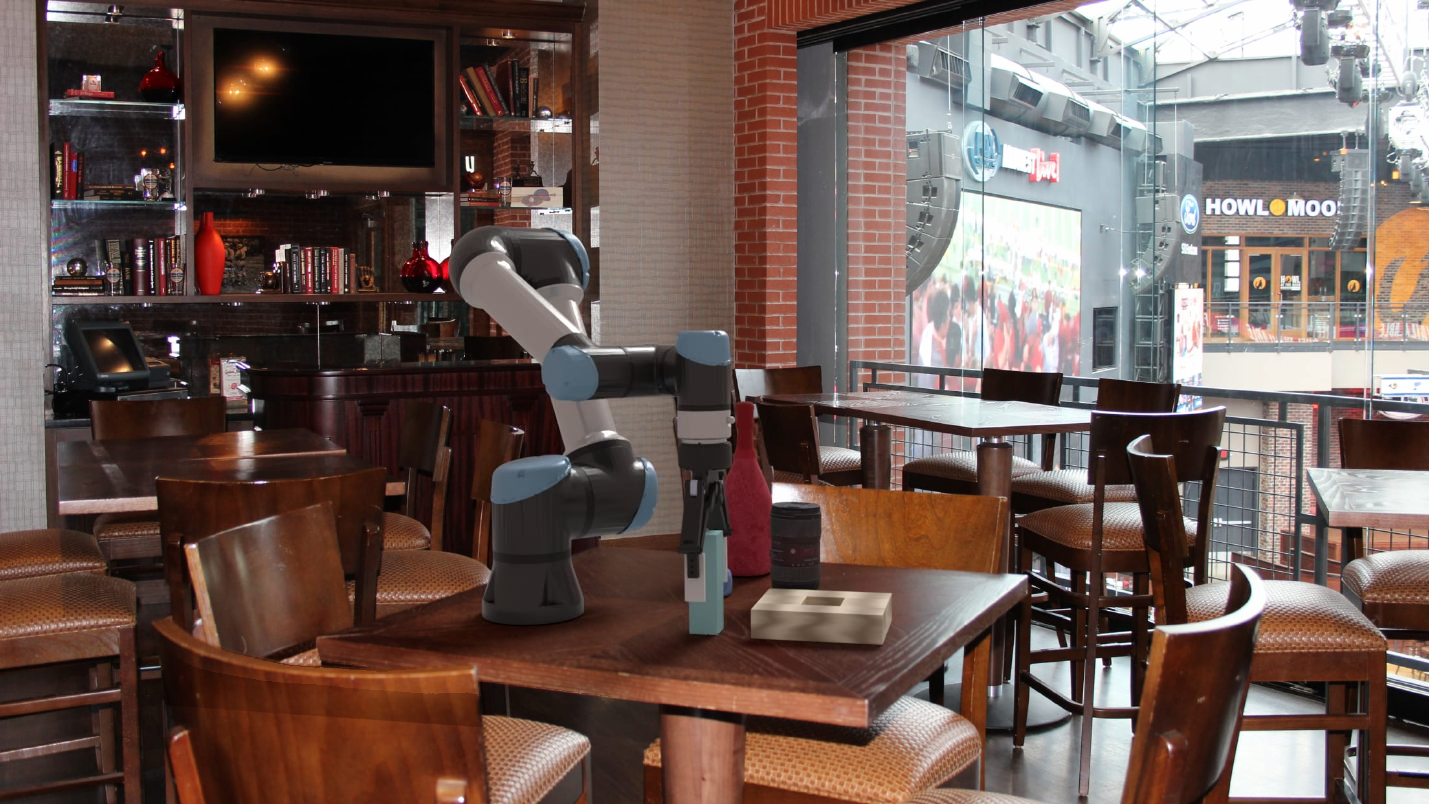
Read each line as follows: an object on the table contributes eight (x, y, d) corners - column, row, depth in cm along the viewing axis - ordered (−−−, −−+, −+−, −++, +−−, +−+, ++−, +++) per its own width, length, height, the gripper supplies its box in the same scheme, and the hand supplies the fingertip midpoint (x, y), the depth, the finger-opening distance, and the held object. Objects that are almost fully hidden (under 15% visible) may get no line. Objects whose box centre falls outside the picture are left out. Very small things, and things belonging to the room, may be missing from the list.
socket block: (751, 638, 169) (750, 609, 168) (769, 615, 182) (769, 588, 182) (882, 644, 165) (882, 615, 164) (891, 620, 178) (891, 593, 178)
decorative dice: (726, 591, 200) (726, 566, 200) (732, 596, 196) (732, 571, 196) (702, 592, 199) (702, 568, 199) (708, 597, 195) (708, 572, 195)
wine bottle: (719, 567, 220) (717, 399, 218) (773, 567, 219) (772, 399, 218) (716, 578, 210) (715, 403, 208) (774, 578, 210) (773, 402, 208)
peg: (689, 633, 172) (688, 534, 171) (696, 626, 176) (695, 529, 175) (717, 634, 171) (716, 535, 170) (723, 628, 175) (722, 530, 174)
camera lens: (818, 605, 189) (818, 508, 188) (766, 603, 190) (766, 507, 189) (824, 593, 197) (824, 501, 196) (774, 592, 198) (774, 500, 197)
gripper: (710, 448, 159) (712, 611, 160) (748, 433, 183) (750, 574, 184) (654, 448, 160) (657, 609, 161) (700, 433, 185) (702, 573, 186)
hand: (707, 591), depth 173 cm, fingers open, 13 cm apart
